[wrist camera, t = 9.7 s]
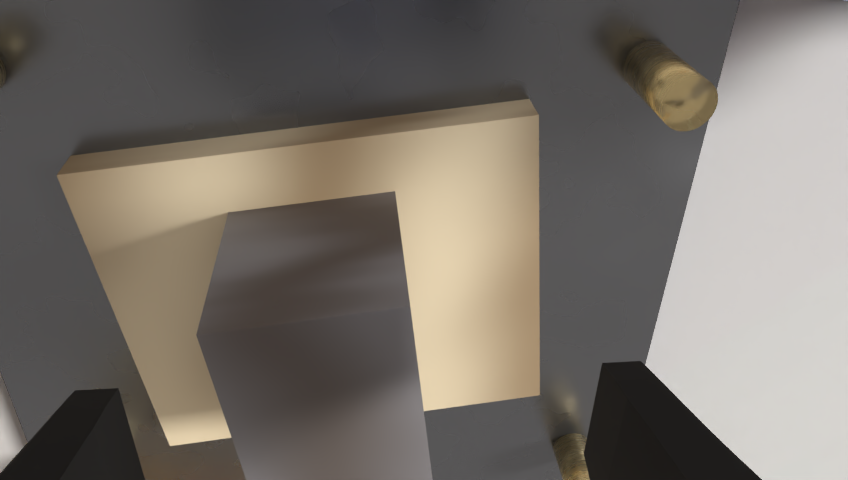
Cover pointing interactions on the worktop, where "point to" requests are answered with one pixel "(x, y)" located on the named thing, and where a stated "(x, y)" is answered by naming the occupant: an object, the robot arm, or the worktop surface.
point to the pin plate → (347, 101)
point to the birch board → (442, 229)
